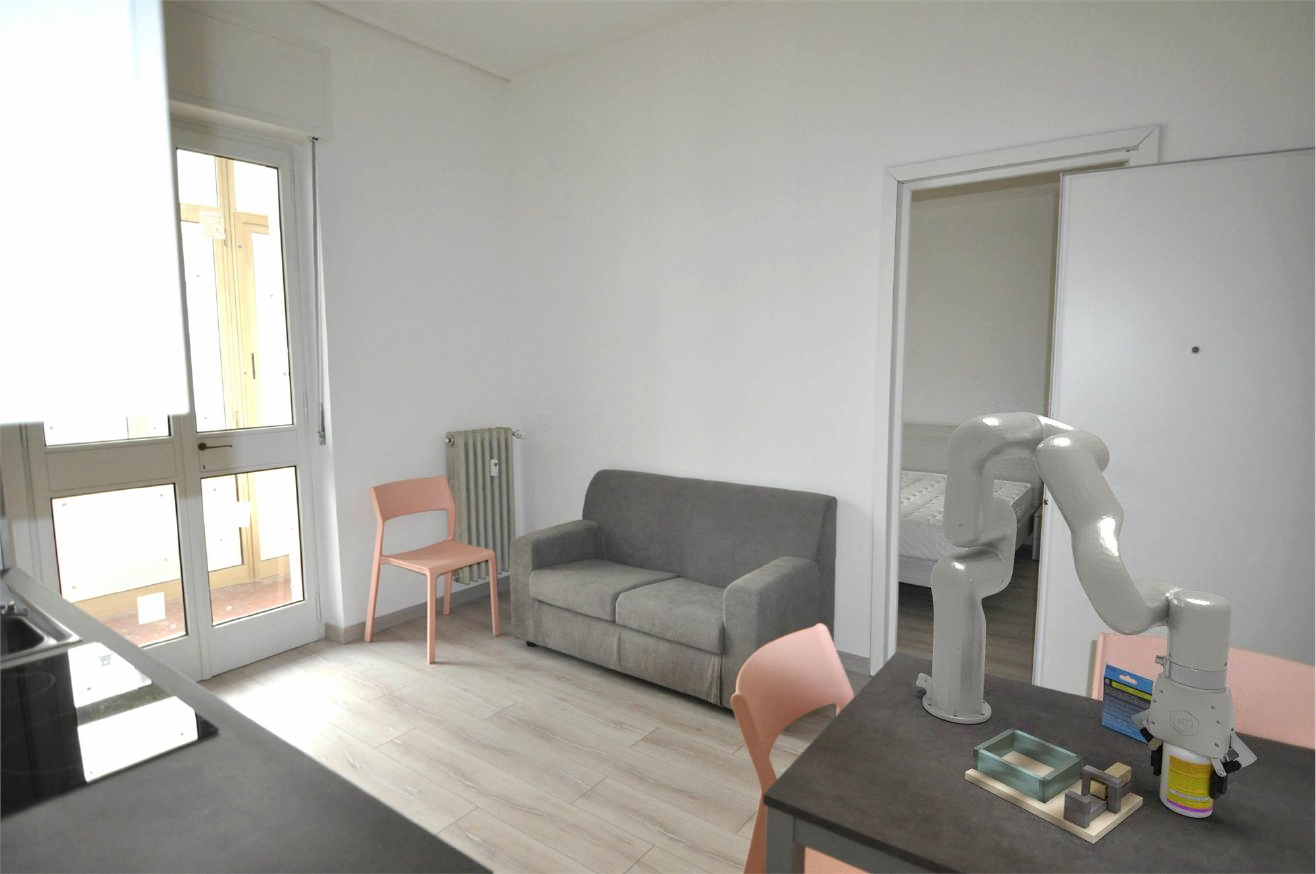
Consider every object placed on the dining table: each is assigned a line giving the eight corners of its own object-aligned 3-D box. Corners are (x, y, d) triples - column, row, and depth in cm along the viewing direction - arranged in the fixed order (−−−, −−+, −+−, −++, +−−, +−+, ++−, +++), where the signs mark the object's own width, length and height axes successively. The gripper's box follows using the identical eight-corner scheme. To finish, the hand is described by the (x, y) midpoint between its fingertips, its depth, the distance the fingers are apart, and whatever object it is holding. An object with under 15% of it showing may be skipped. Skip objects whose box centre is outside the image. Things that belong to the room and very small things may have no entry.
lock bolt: (1090, 792, 111) (1090, 780, 111) (1116, 773, 116) (1117, 761, 116) (1104, 799, 109) (1104, 786, 109) (1130, 779, 114) (1131, 767, 114)
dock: (964, 779, 120) (966, 743, 119) (1016, 749, 129) (1018, 716, 128) (1093, 843, 104) (1096, 803, 103) (1142, 804, 113) (1144, 767, 112)
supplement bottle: (1221, 822, 109) (1228, 740, 107) (1171, 817, 110) (1177, 736, 109) (1197, 796, 115) (1203, 719, 114) (1151, 791, 116) (1156, 715, 115)
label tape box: (1161, 741, 132) (1166, 676, 131) (1149, 746, 130) (1153, 680, 129) (1112, 720, 140) (1116, 658, 139) (1099, 725, 138) (1103, 662, 137)
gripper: (1121, 660, 115) (1114, 766, 117) (1257, 701, 101) (1247, 822, 103) (1142, 649, 120) (1135, 752, 121) (1275, 687, 105) (1265, 803, 107)
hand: (1186, 783), depth 112 cm, fingers open, 6 cm apart
